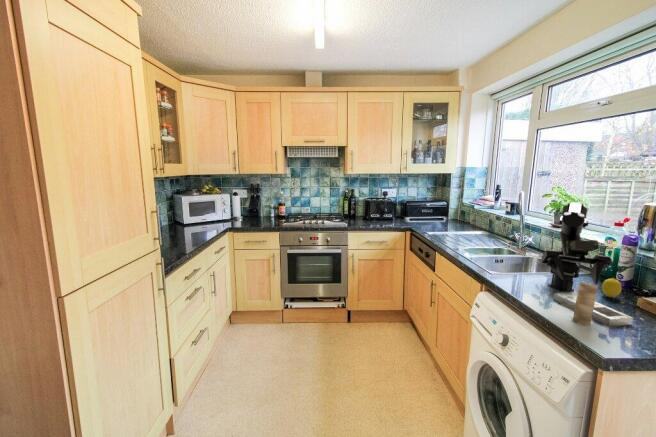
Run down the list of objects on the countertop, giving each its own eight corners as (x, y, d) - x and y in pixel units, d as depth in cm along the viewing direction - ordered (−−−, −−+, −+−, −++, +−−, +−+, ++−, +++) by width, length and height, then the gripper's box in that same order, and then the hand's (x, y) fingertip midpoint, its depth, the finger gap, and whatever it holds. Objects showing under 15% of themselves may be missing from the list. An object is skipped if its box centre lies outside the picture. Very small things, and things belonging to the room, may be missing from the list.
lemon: (609, 294, 120) (613, 275, 119) (623, 300, 114) (627, 281, 113) (596, 294, 120) (600, 275, 118) (609, 300, 114) (613, 280, 113)
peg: (569, 319, 99) (576, 282, 96) (579, 318, 99) (587, 282, 97) (582, 326, 94) (590, 288, 92) (593, 325, 95) (601, 287, 93)
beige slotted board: (553, 299, 113) (554, 293, 113) (572, 298, 115) (573, 292, 115) (608, 326, 95) (610, 319, 94) (631, 324, 96) (632, 317, 96)
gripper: (549, 227, 105) (556, 266, 97) (615, 233, 99) (628, 275, 91) (538, 244, 114) (543, 281, 105) (598, 250, 108) (609, 290, 99)
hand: (579, 281), depth 100 cm, fingers open, 9 cm apart
